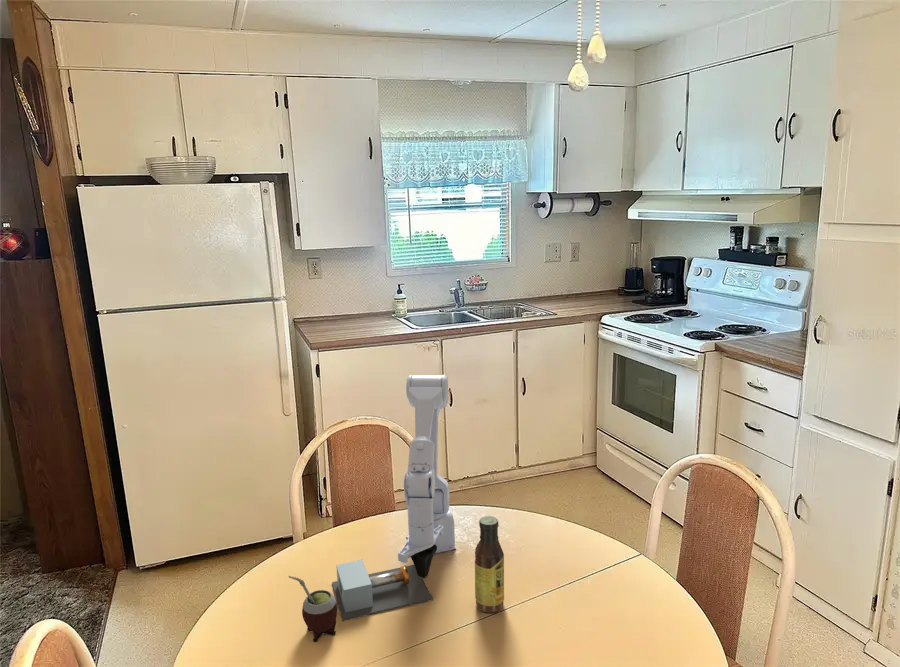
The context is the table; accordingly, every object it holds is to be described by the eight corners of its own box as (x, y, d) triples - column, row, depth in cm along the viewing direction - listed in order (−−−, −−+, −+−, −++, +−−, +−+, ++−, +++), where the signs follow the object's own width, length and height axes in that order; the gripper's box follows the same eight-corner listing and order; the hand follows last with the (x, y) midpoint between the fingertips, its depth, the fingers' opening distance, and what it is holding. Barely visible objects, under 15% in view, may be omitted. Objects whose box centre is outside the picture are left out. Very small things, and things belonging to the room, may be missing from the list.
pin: (404, 577, 146) (404, 562, 145) (409, 587, 142) (408, 571, 142) (357, 588, 143) (356, 572, 142) (361, 598, 139) (360, 582, 138)
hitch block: (363, 581, 146) (362, 559, 145) (373, 607, 137) (371, 584, 136) (337, 587, 144) (336, 564, 143) (345, 614, 135) (343, 590, 134)
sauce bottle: (502, 616, 133) (501, 530, 129) (473, 612, 135) (471, 527, 130) (505, 596, 140) (505, 514, 135) (477, 594, 141) (476, 512, 137)
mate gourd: (344, 623, 132) (340, 559, 129) (327, 649, 125) (322, 581, 122) (312, 618, 134) (307, 554, 131) (293, 643, 127) (287, 576, 124)
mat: (415, 565, 152) (415, 564, 152) (433, 599, 139) (433, 598, 139) (332, 583, 146) (332, 582, 146) (342, 621, 133) (342, 619, 133)
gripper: (426, 503, 150) (427, 555, 153) (386, 530, 139) (389, 585, 142) (450, 511, 146) (451, 564, 149) (411, 540, 135) (413, 596, 138)
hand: (422, 575), depth 145 cm, fingers closed
